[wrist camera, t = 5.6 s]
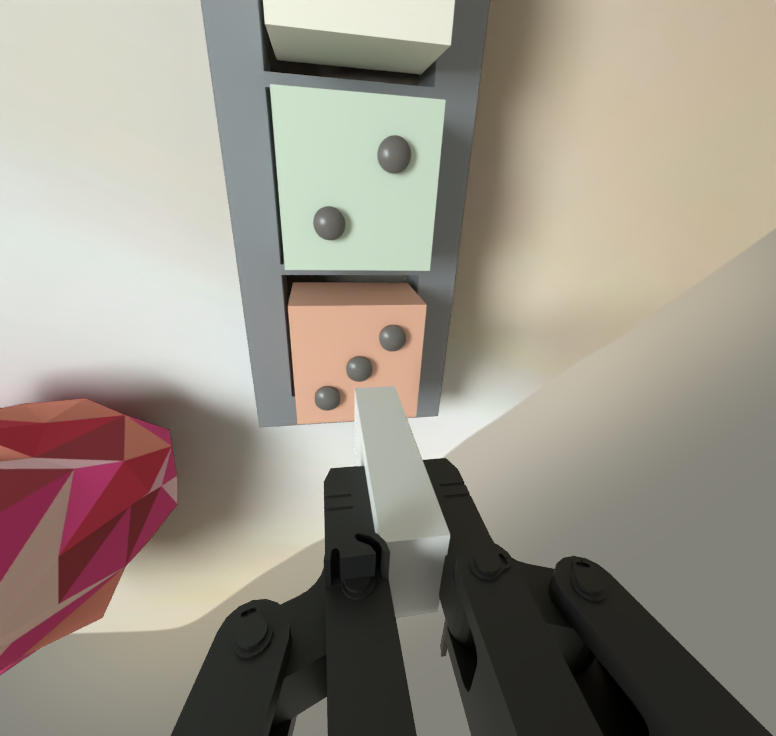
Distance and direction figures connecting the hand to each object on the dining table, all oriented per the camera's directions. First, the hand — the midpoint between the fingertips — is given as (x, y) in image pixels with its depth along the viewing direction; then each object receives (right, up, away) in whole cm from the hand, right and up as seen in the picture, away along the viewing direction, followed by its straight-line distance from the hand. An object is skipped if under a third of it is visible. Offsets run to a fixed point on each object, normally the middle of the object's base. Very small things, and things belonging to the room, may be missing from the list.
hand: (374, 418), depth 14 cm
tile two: (-1, +10, +3) cm, 11 cm away
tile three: (-2, +4, +7) cm, 8 cm away
